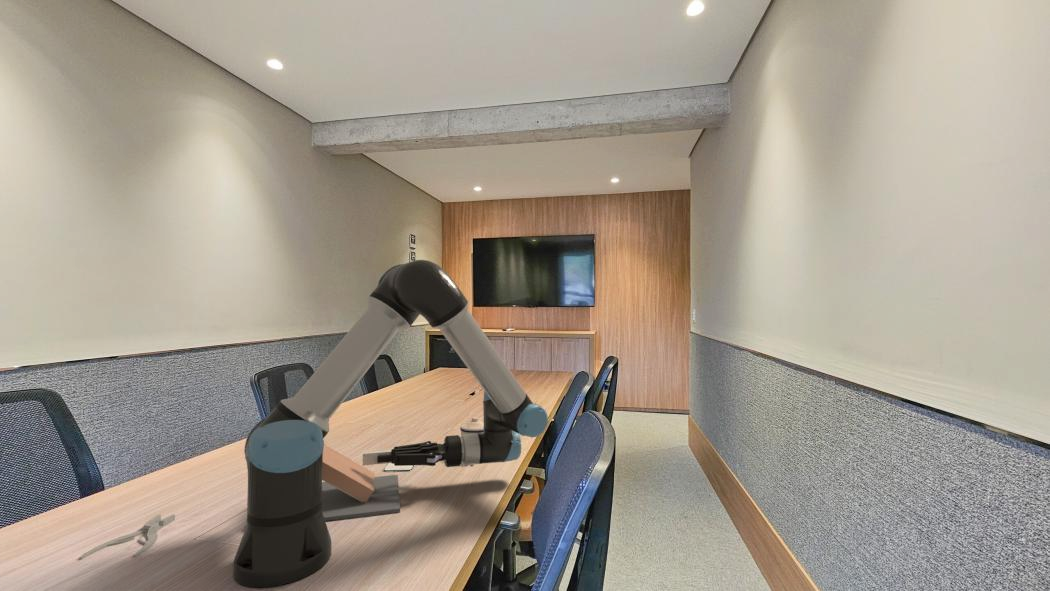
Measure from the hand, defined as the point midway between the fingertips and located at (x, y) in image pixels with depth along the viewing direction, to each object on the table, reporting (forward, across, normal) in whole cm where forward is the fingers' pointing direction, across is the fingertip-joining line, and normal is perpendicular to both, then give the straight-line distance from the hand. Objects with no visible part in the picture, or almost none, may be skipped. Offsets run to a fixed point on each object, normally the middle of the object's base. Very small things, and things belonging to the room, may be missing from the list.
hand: (362, 458), depth 108 cm
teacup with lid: (-31, +21, -9) cm, 39 cm away
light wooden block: (-2, -1, -7) cm, 7 cm away
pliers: (+41, -8, -10) cm, 42 cm away
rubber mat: (+7, -1, -9) cm, 11 cm away
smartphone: (-10, +23, -9) cm, 27 cm away
